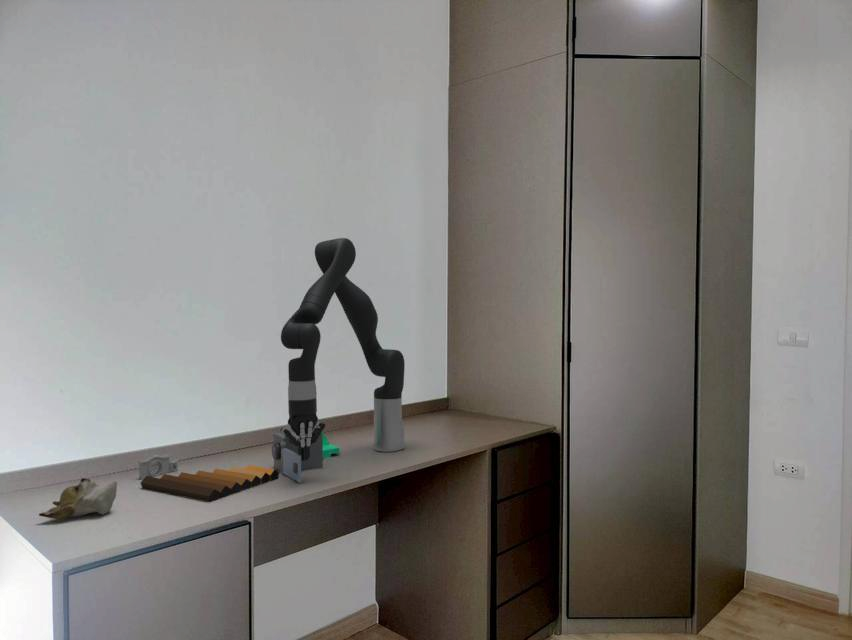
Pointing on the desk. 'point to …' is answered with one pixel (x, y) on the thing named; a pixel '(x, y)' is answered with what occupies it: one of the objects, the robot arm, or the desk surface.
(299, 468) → the door
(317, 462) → the housing
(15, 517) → the desk surface
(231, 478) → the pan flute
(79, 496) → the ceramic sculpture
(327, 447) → the camera mount
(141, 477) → the grey ringed bracket
